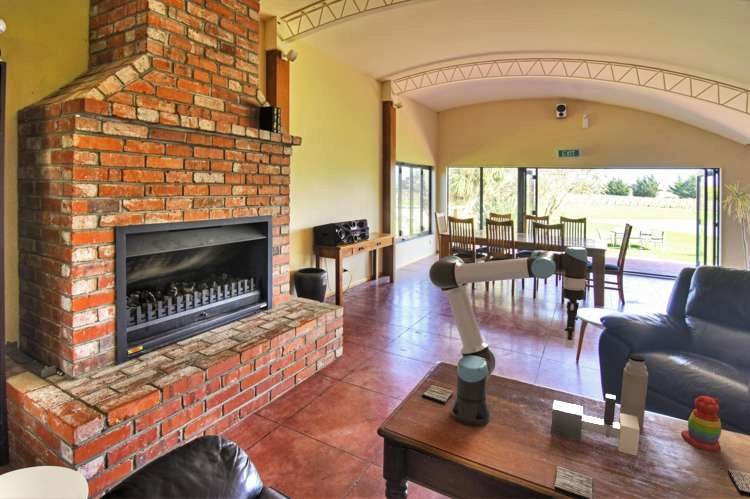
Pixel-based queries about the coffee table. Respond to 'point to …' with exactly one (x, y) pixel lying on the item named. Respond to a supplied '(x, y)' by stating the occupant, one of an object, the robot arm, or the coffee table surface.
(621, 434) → the socket block
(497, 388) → the coffee table surface
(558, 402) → the grey block
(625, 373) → the thermos bottle
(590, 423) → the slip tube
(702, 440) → the stacking bear
